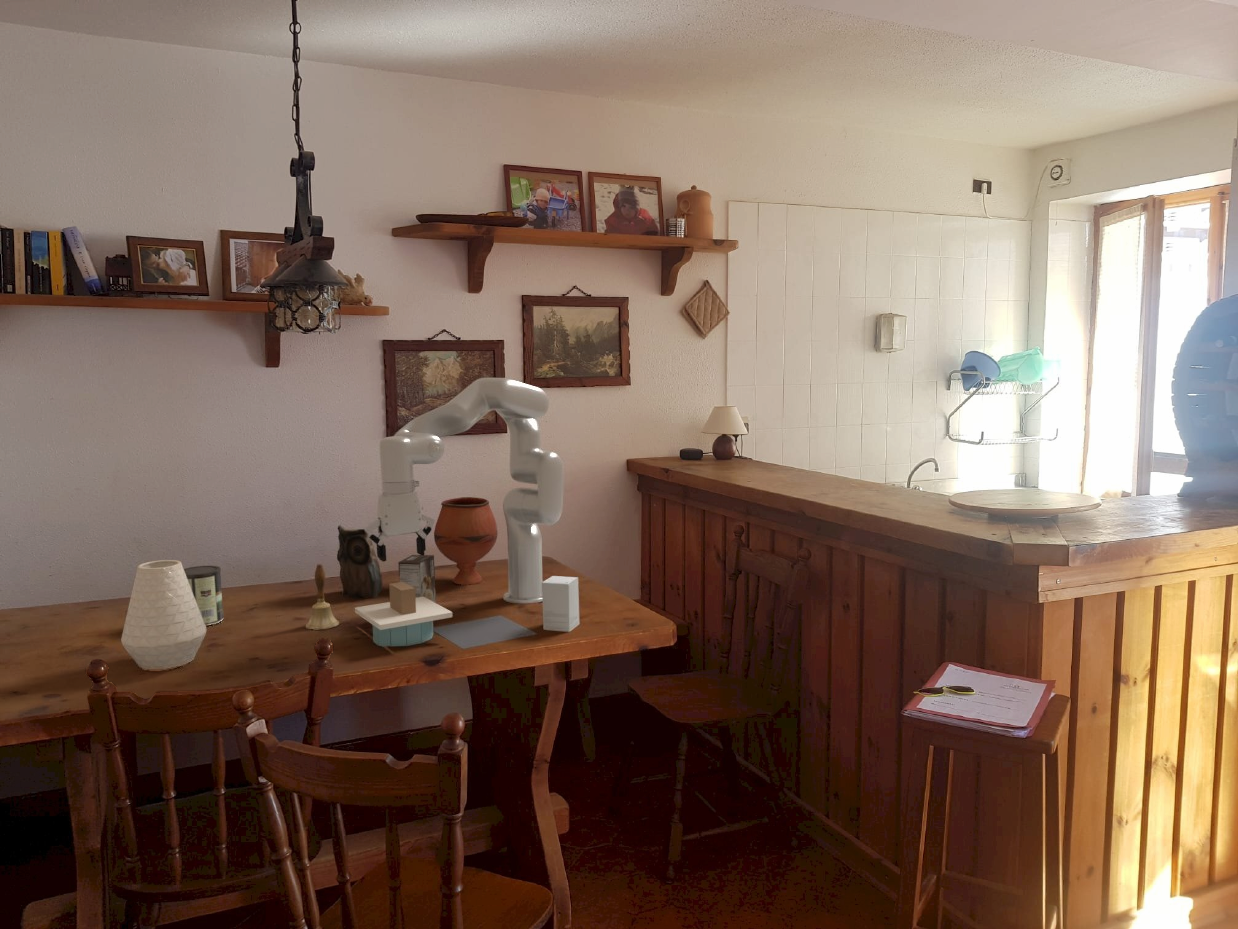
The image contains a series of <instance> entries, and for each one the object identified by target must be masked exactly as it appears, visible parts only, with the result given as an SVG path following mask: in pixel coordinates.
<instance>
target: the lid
mask: <svg viewBox="0 0 1238 929" xmlns="http://www.w3.org/2000/svg"><path fill="white" fill-rule="evenodd" d="M388 586H389V601H386V602H382V603H374V604H369V605H364V606H356V607H354V613H355V614H357V615H358V616H360V617H361V618H362V619H364V620H366V621H367V622H368V623H370V624H371V625H372V626H373V625H374V626H375V627H377V628H378V629H380V630H384V629H389V628H395V627H400V626H406V625H411V624H417V623H423V622H428V621H433V622H434V621H439V620H444V619H450V618H453V612H452V611H451V610H449V609H447V608H446V607H443V606H441V605H440V604H438V603H437V602H436V603H435V602H433V601H431V600H429V599H427V598H425V597H424V596H423V597H417V598H415V588H414V587H412V586H410V585H408V584H406V583H404V582H399V581H398V582H392V583H389V584H388Z"/></svg>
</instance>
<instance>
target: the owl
mask: <svg viewBox="0 0 1238 929" xmlns="http://www.w3.org/2000/svg"><path fill="white" fill-rule="evenodd" d="M364 529H365V528H360V527H354V526H348V527H347V526H342V525H341V524H340V525H337V530H338V536H337V537H338V547H339V548H338V550H337V554H336V559H337V562H338V564H339V566H340V570H339V578H340V582H341V584H342V588H343V589H342V592H343V593H342V592H341V595H342V594H343V595H342V596H343V597H346V596H347V597H349V598H354V599H375V598H377V597H378V595H380V593H381V592H382V591H383V589H382V588H383V575H382V572H381V566H380V562H379V560H378V559H379V558H378V557H377V553H376V552H375V548H374V544H373V541H372V540H371V539H370V538H369V536H368V535H367V533H366V532H365V530H364ZM380 591H381V592H380ZM379 592H380V593H379ZM377 594H378V595H377Z"/></svg>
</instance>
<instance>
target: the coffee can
mask: <svg viewBox="0 0 1238 929" xmlns="http://www.w3.org/2000/svg"><path fill="white" fill-rule="evenodd" d="M183 569H184V571H185V574H186V577H187V579H188V582H189V584H190V587H191V590H192V592H193V595H194V597H195V600H196V603H197V605H198V608H199V610H200V613H201V616H202V618H203V621H204V623H205V626H206V625H211V624H216V623H219V622H220V621H222V620H223V619H224V607H223V595H222V594H223V592H222V578H221V570H222V569H221V567H220V566H218V565H196V566H191V567H186V568H183ZM224 620H225V619H224ZM219 624H220V623H219Z"/></svg>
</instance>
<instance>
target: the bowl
mask: <svg viewBox="0 0 1238 929" xmlns="http://www.w3.org/2000/svg"><path fill="white" fill-rule="evenodd" d="M433 628H434V621H428V622H423V623H417V624H411V625H406V626H400V627H395V628H389V629H384V630H380V629H378V628H377V627H375V626H374V625H372V642H373V643H375V644H376V645H377V646H379V647H383V648H387V647H408V646H413V645H419V644H423V643H425V642H427V641H429V640H431V639H432V638H433V636H434V631H433Z"/></svg>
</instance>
